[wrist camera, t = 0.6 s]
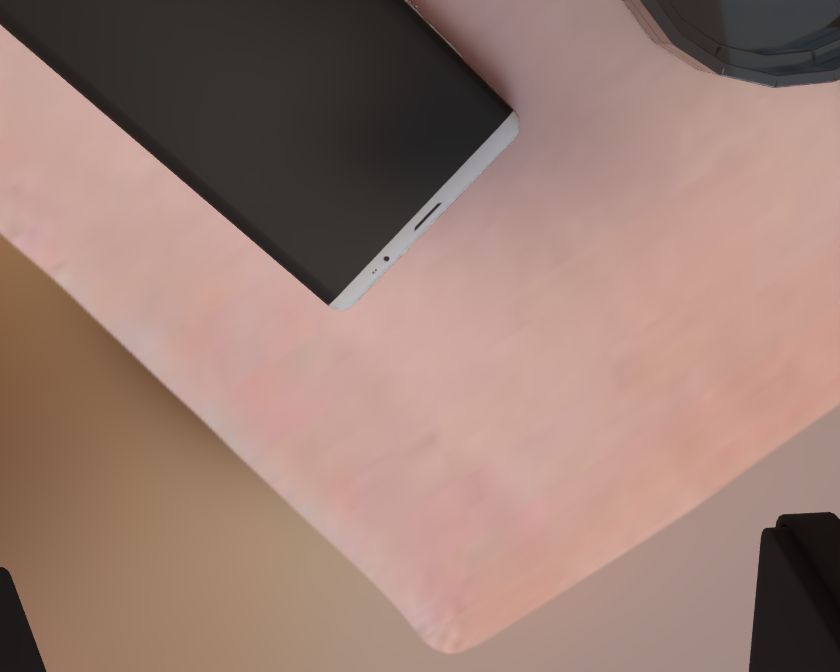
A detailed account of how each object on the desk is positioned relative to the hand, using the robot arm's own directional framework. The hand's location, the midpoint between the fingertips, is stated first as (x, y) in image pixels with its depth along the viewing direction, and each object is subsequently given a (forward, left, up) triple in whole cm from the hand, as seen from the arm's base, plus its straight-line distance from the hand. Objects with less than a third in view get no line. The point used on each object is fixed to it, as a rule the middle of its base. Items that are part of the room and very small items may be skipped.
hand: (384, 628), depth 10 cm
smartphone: (-8, -9, -32) cm, 34 cm away
